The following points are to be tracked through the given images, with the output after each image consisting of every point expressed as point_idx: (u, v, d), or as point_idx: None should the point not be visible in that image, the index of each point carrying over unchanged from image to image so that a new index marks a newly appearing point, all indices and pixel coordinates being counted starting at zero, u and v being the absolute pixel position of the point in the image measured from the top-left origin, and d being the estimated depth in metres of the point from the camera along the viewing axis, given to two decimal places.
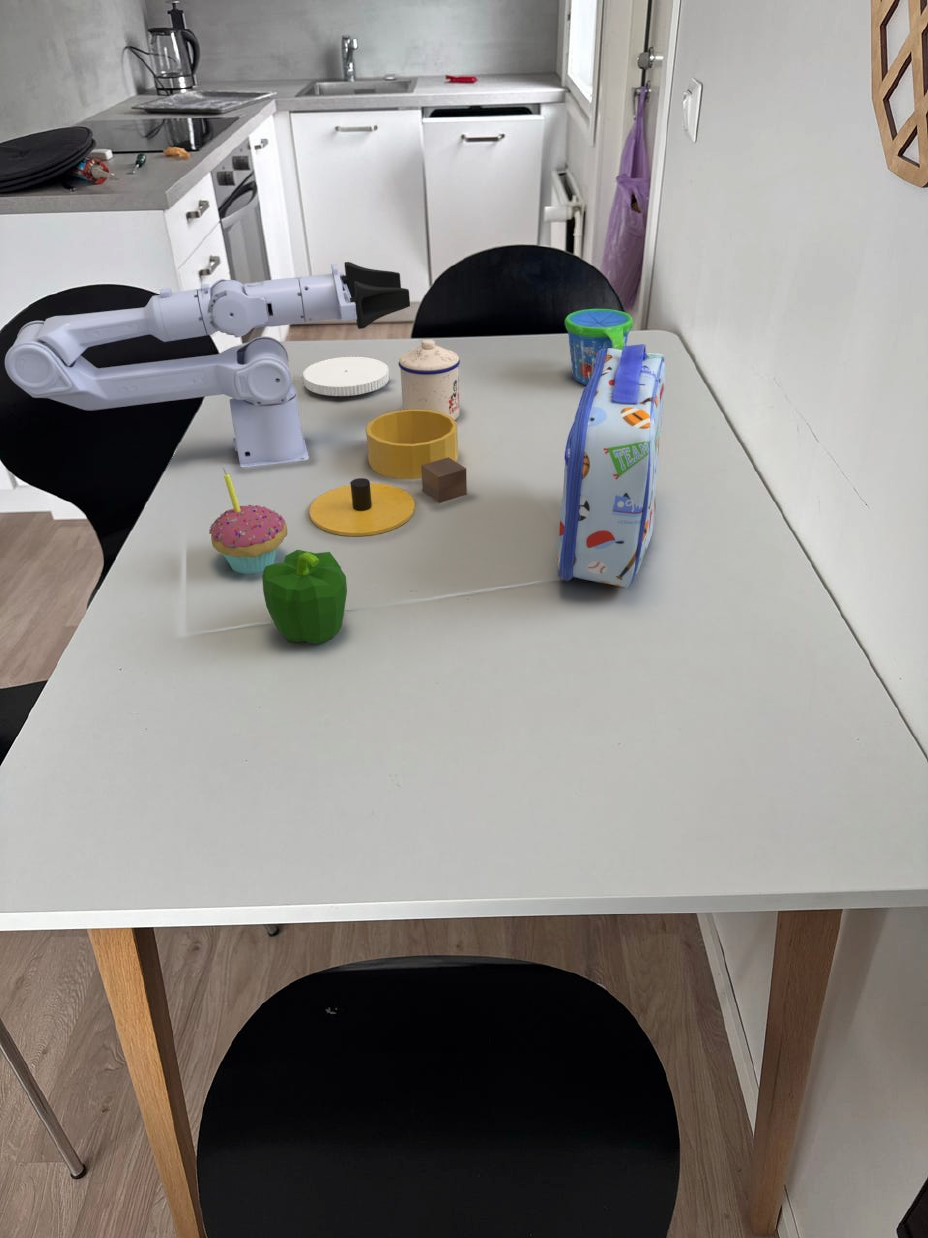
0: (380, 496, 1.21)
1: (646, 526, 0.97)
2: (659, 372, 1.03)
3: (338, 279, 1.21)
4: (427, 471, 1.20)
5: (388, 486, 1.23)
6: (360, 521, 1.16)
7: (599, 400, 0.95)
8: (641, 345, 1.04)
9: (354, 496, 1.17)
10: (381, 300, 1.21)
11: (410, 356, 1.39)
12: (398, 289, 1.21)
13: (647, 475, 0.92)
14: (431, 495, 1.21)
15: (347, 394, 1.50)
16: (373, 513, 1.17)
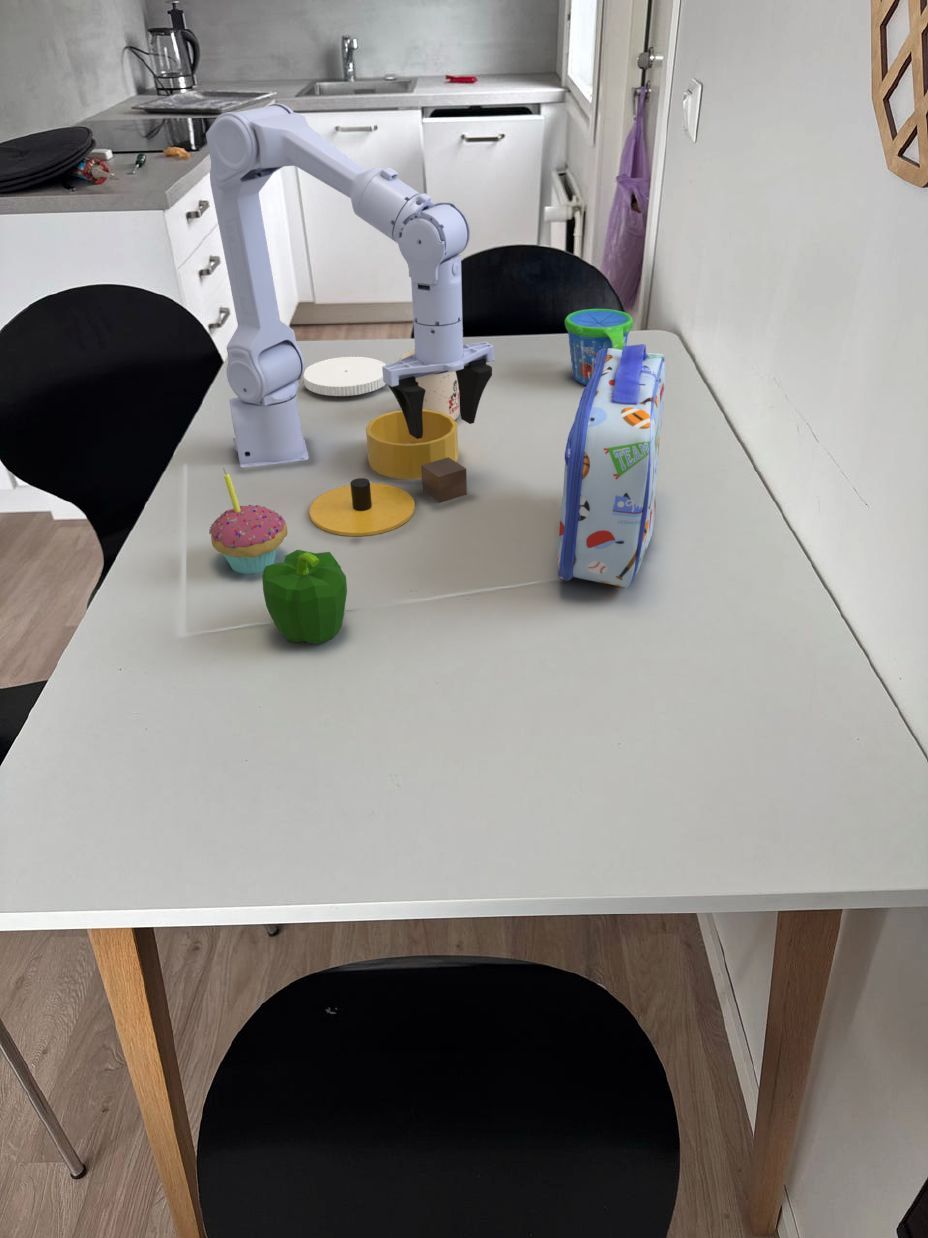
0: (380, 496, 1.21)
1: (646, 526, 0.97)
2: (659, 372, 1.03)
3: (438, 369, 1.10)
4: (427, 471, 1.20)
5: (388, 486, 1.23)
6: (360, 521, 1.16)
7: (599, 400, 0.95)
8: (641, 345, 1.04)
9: (354, 496, 1.17)
10: (411, 408, 1.13)
11: None
12: (418, 429, 1.14)
13: (647, 475, 0.92)
14: (431, 495, 1.21)
15: (347, 394, 1.50)
16: (373, 513, 1.17)
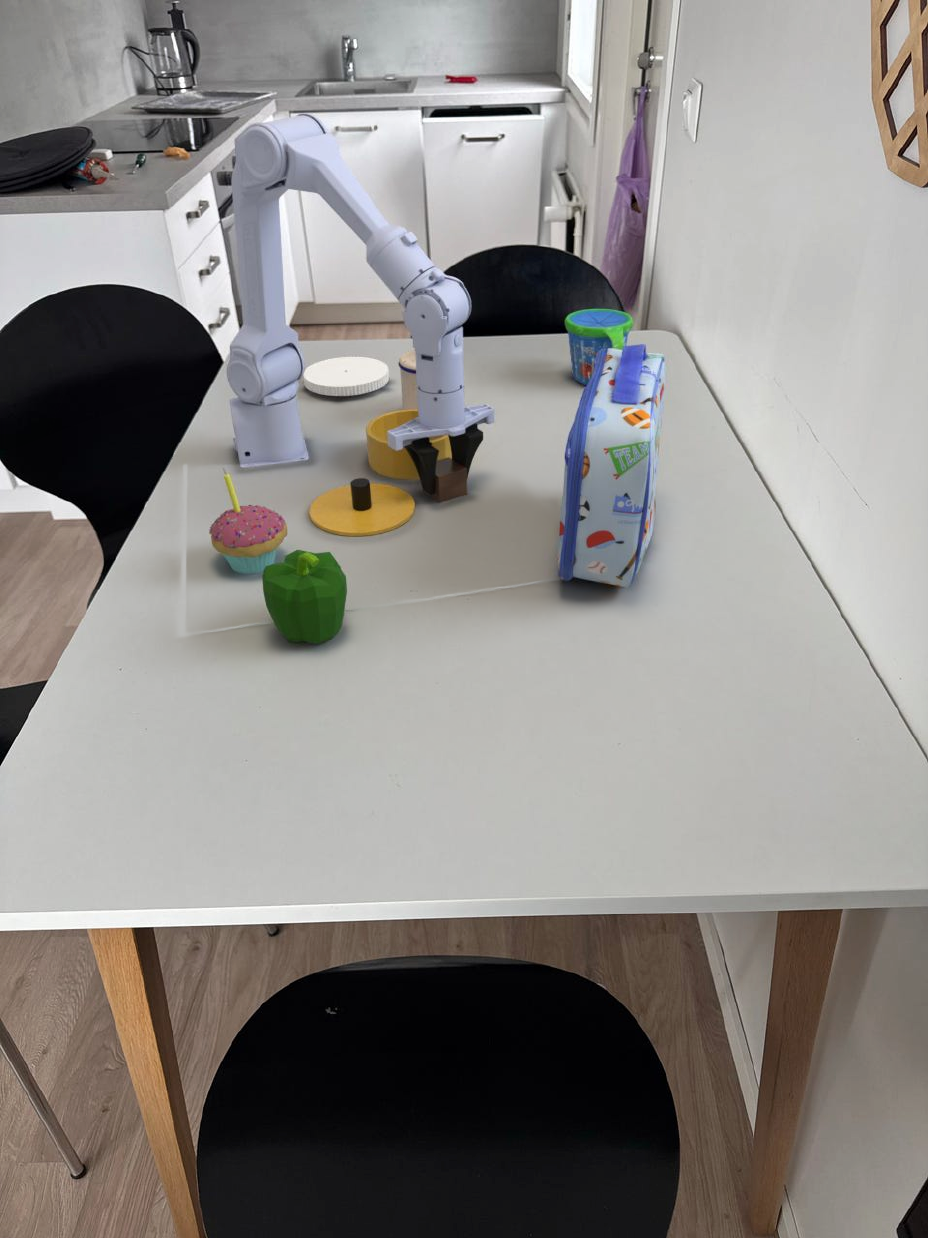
0: (380, 496, 1.21)
1: (646, 526, 0.97)
2: (659, 372, 1.03)
3: (441, 433, 1.15)
4: None
5: (388, 486, 1.23)
6: (360, 521, 1.16)
7: (599, 400, 0.95)
8: (641, 345, 1.04)
9: (354, 496, 1.17)
10: None
11: (410, 356, 1.39)
12: (431, 486, 1.19)
13: (647, 475, 0.92)
14: (431, 495, 1.21)
15: (347, 394, 1.50)
16: (373, 513, 1.17)
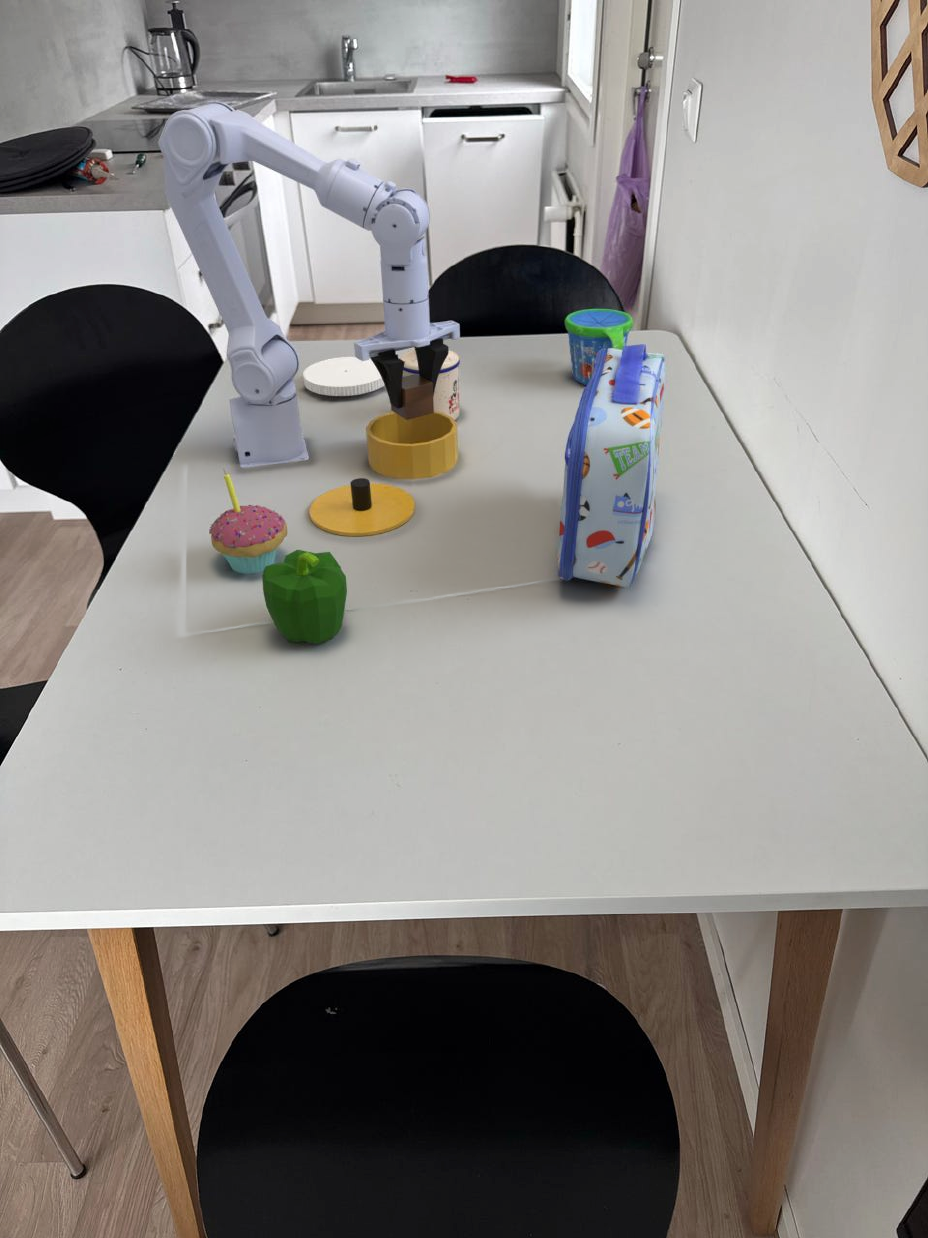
0: (380, 496, 1.21)
1: (646, 526, 0.97)
2: (659, 372, 1.03)
3: (406, 345, 1.18)
4: None
5: (388, 486, 1.23)
6: (360, 521, 1.16)
7: (599, 400, 0.95)
8: (641, 345, 1.04)
9: (354, 496, 1.17)
10: None
11: (410, 356, 1.39)
12: (398, 399, 1.23)
13: (647, 475, 0.92)
14: (399, 409, 1.25)
15: (347, 394, 1.50)
16: (373, 513, 1.17)
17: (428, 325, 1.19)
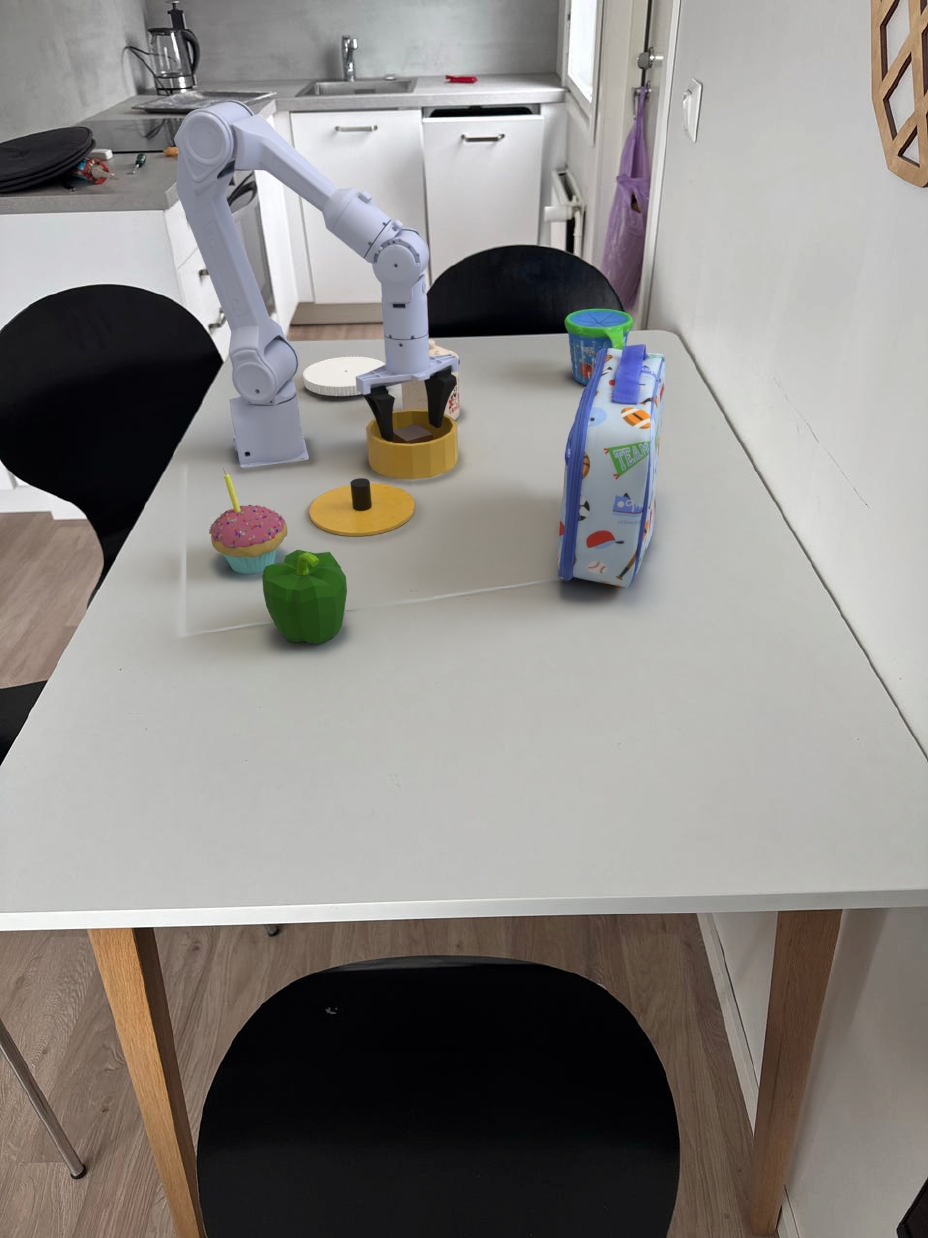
0: (380, 496, 1.21)
1: (646, 526, 0.97)
2: (659, 372, 1.03)
3: (406, 378, 1.21)
4: (396, 436, 1.28)
5: (388, 486, 1.23)
6: (360, 521, 1.16)
7: (599, 400, 0.95)
8: (641, 345, 1.04)
9: (354, 496, 1.17)
10: None
11: None
12: (388, 433, 1.25)
13: (647, 475, 0.92)
14: None
15: (347, 394, 1.50)
16: (373, 513, 1.17)
17: (428, 359, 1.22)
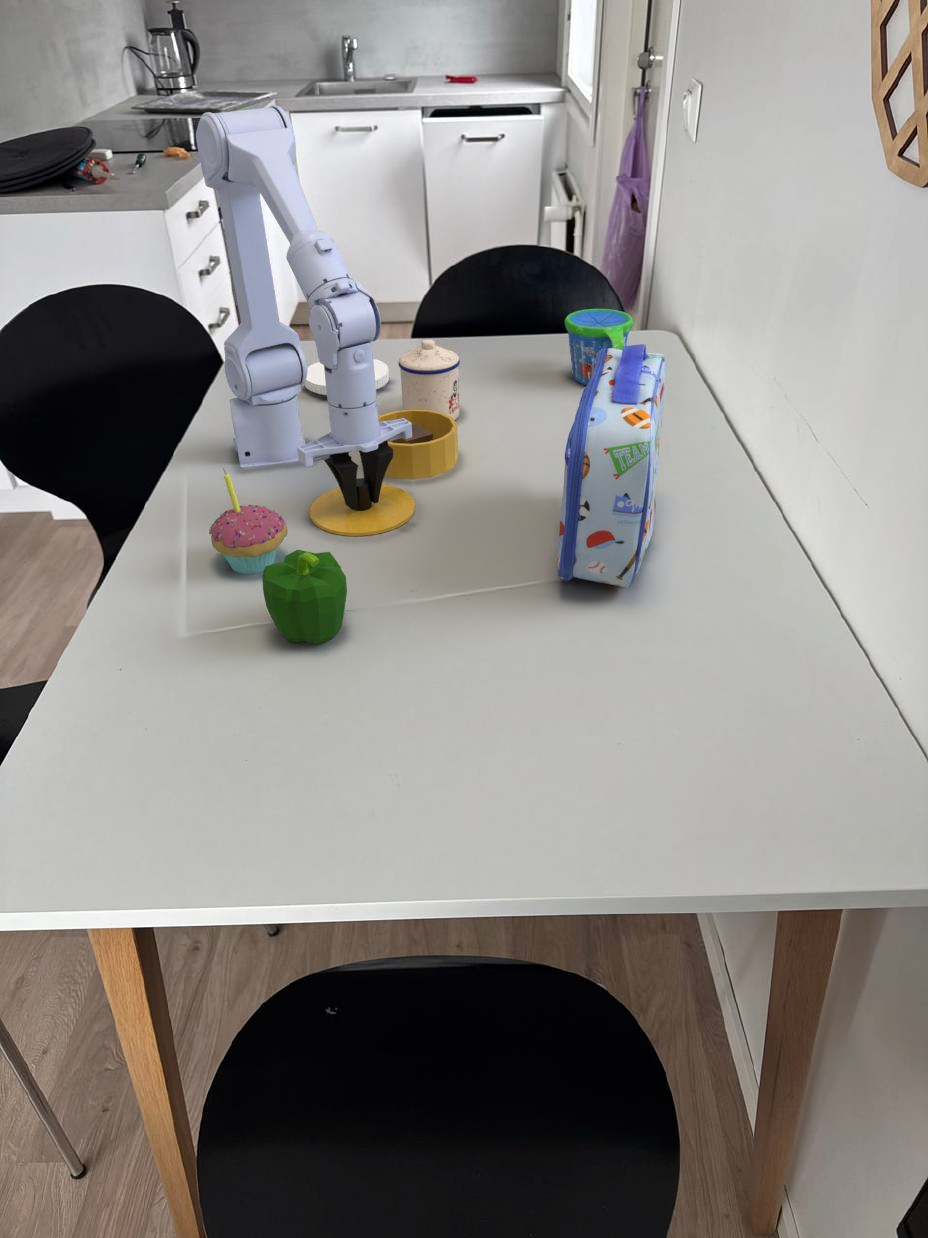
0: (380, 496, 1.21)
1: (646, 526, 0.97)
2: (659, 372, 1.03)
3: (353, 449, 1.11)
4: None
5: (388, 486, 1.23)
6: (360, 521, 1.16)
7: (599, 400, 0.95)
8: (641, 345, 1.04)
9: None
10: None
11: (410, 356, 1.39)
12: (353, 501, 1.16)
13: (647, 475, 0.92)
14: None
15: None
16: (373, 513, 1.17)
17: (376, 427, 1.12)
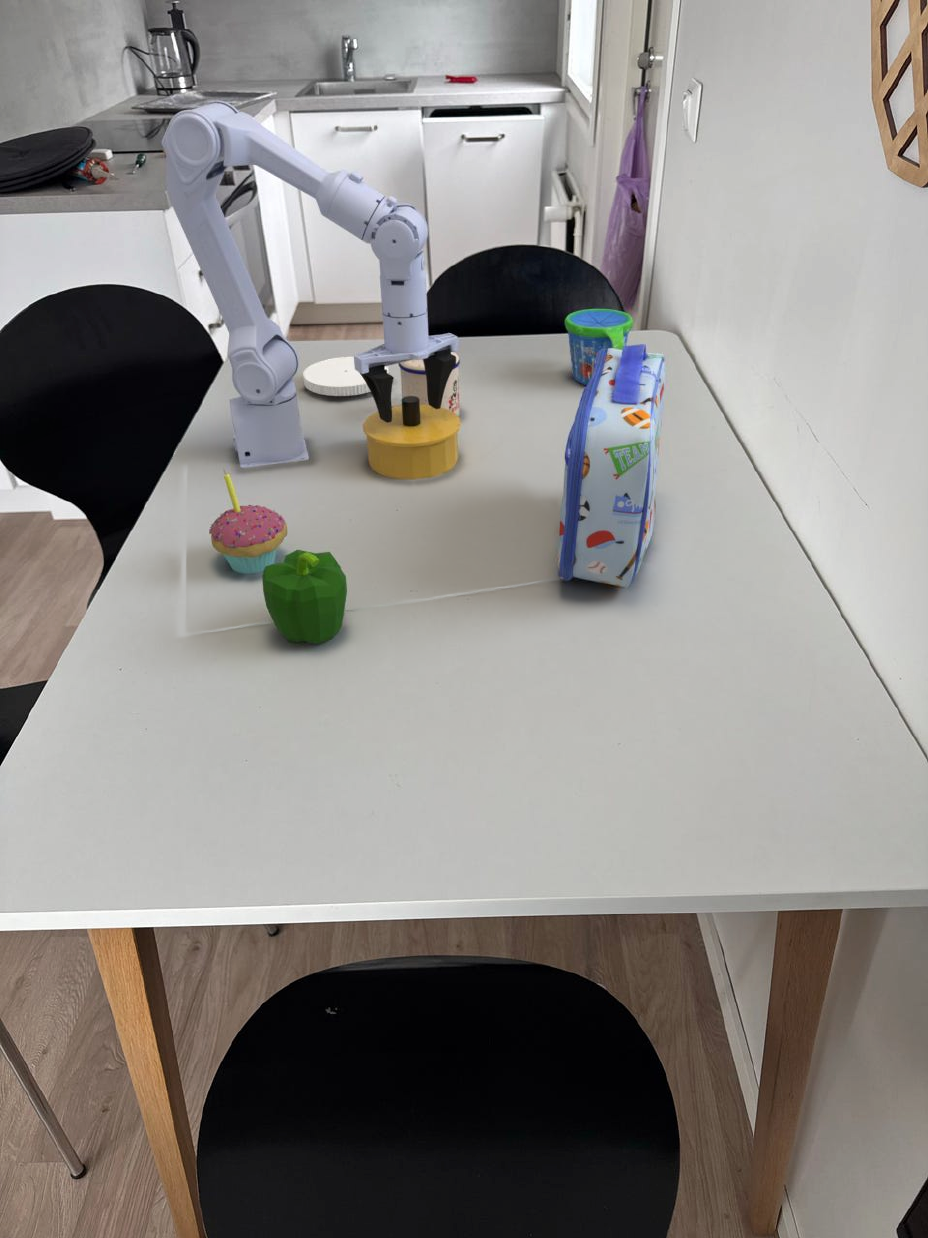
0: (427, 415, 1.30)
1: (646, 526, 0.97)
2: (659, 372, 1.03)
3: (405, 357, 1.20)
4: None
5: None
6: (411, 434, 1.25)
7: (599, 400, 0.95)
8: (641, 345, 1.04)
9: (405, 412, 1.26)
10: None
11: None
12: (387, 413, 1.24)
13: (647, 475, 0.92)
14: None
15: (347, 394, 1.50)
16: (422, 428, 1.27)
17: (427, 338, 1.21)
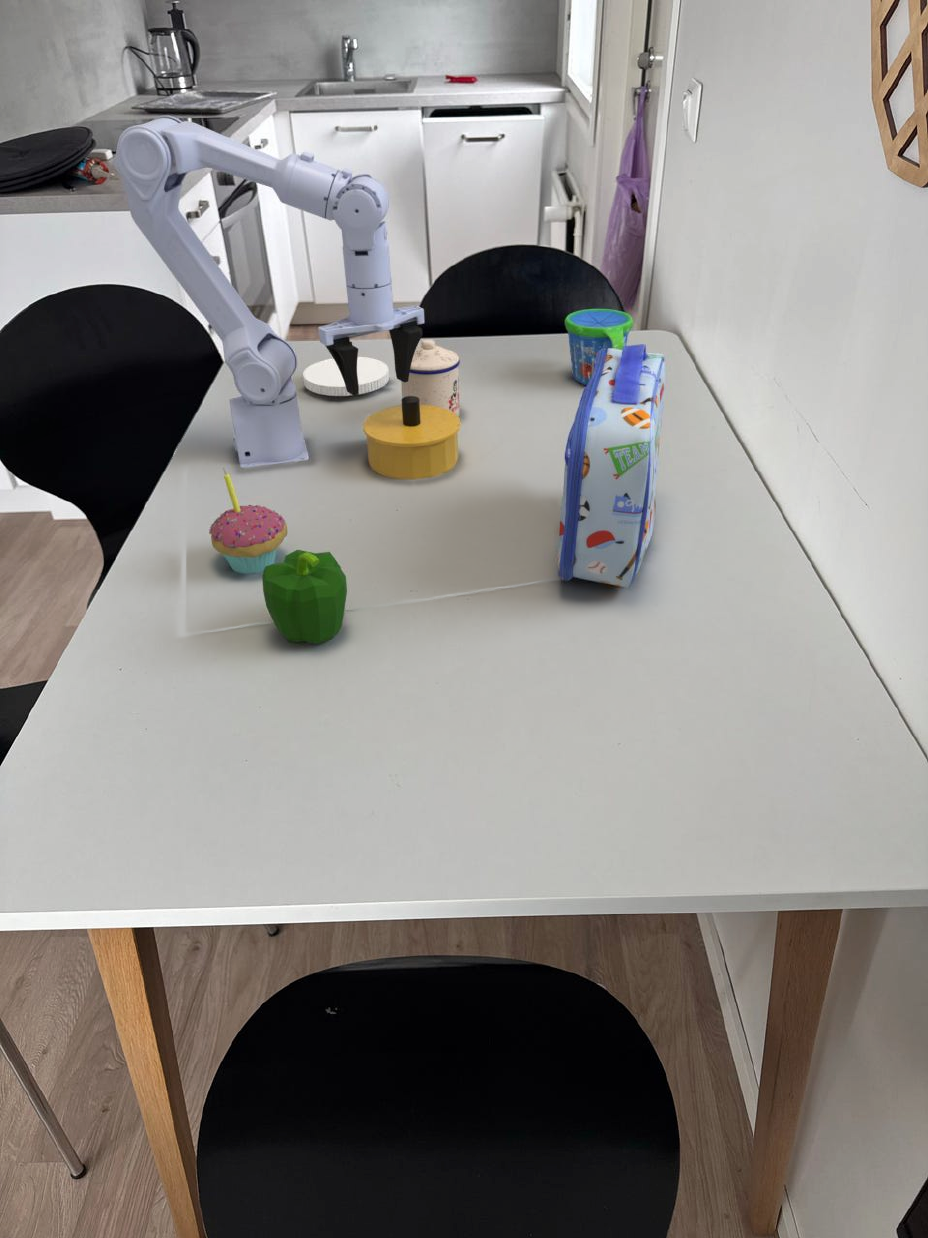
0: (427, 415, 1.30)
1: (646, 526, 0.97)
2: (659, 372, 1.03)
3: (370, 329, 1.20)
4: None
5: (434, 406, 1.33)
6: (411, 434, 1.25)
7: (599, 400, 0.95)
8: (641, 345, 1.04)
9: (405, 412, 1.26)
10: None
11: None
12: (354, 386, 1.24)
13: (647, 475, 0.92)
14: None
15: (347, 394, 1.50)
16: (422, 428, 1.27)
17: (391, 310, 1.21)
